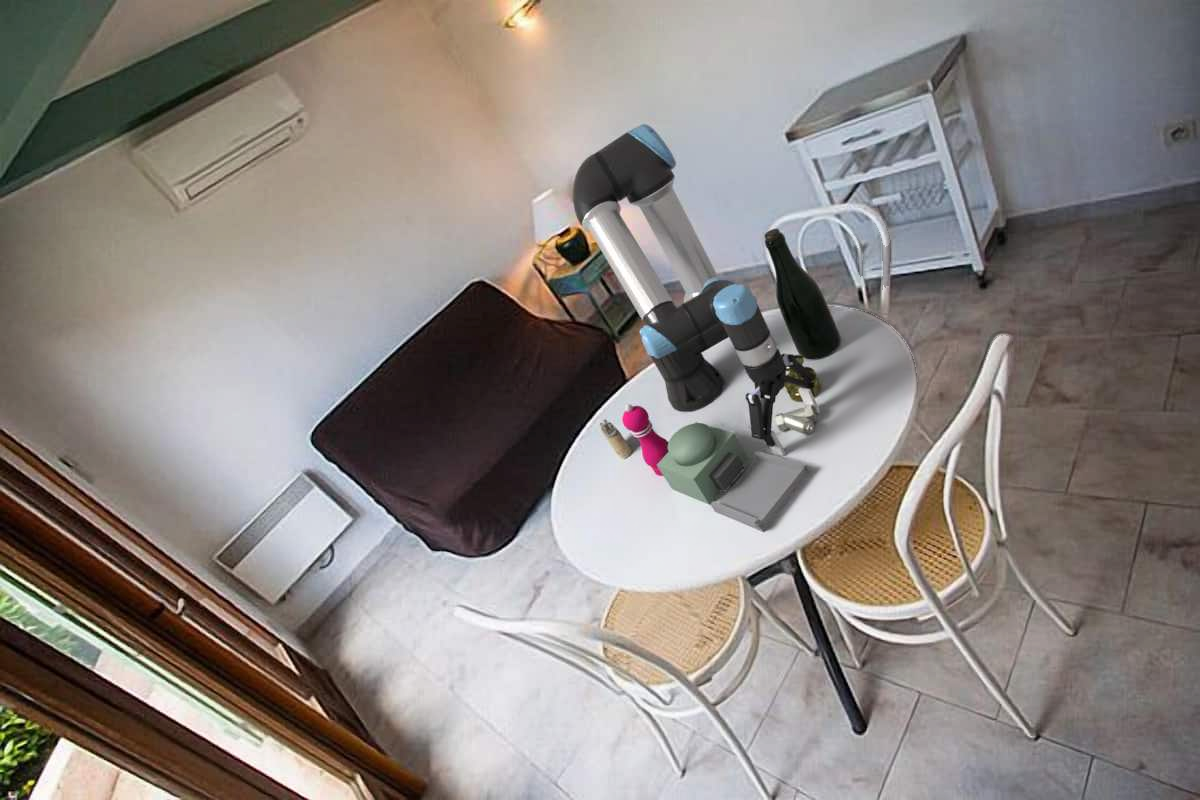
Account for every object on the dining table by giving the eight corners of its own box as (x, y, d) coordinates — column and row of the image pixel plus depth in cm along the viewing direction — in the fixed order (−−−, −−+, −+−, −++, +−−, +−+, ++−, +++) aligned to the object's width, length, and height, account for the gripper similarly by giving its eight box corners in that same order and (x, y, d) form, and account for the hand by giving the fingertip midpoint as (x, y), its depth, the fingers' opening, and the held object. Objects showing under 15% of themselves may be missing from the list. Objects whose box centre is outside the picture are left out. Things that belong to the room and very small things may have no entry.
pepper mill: (682, 452, 154) (644, 390, 144) (677, 474, 148) (637, 412, 139) (656, 458, 157) (616, 398, 148) (650, 480, 152) (609, 419, 142)
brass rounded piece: (828, 384, 146) (813, 350, 141) (808, 405, 143) (792, 372, 139) (803, 378, 152) (788, 345, 147) (783, 399, 150) (767, 366, 145)
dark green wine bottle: (849, 333, 156) (802, 214, 140) (831, 361, 151) (781, 242, 135) (810, 334, 164) (762, 222, 148) (791, 361, 159) (740, 248, 143)
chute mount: (714, 511, 133) (710, 504, 132) (760, 457, 138) (756, 450, 137) (762, 532, 123) (758, 524, 122) (810, 472, 128) (806, 465, 127)
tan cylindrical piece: (613, 449, 170) (594, 422, 165) (624, 440, 170) (606, 413, 165) (623, 460, 163) (604, 433, 159) (635, 451, 164) (616, 423, 159)
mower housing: (672, 489, 145) (650, 455, 140) (710, 446, 150) (690, 412, 145) (717, 508, 134) (695, 472, 128) (757, 461, 138) (737, 424, 133)
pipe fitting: (820, 435, 136) (816, 413, 140) (814, 422, 133) (810, 400, 138) (783, 445, 139) (780, 423, 144) (776, 433, 137) (774, 411, 142)
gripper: (736, 399, 121) (777, 476, 131) (810, 318, 129) (843, 396, 139) (709, 393, 127) (750, 467, 137) (780, 316, 135) (814, 391, 146)
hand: (797, 432), depth 138 cm, fingers open, 12 cm apart
